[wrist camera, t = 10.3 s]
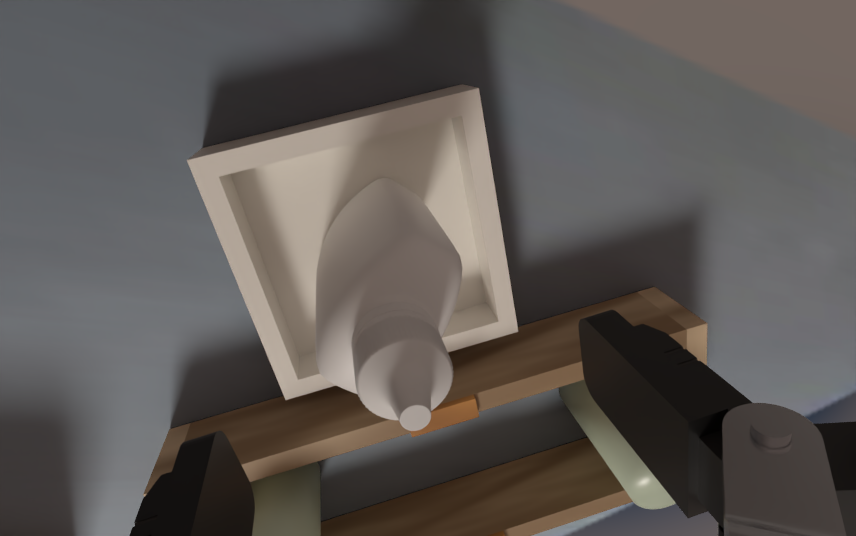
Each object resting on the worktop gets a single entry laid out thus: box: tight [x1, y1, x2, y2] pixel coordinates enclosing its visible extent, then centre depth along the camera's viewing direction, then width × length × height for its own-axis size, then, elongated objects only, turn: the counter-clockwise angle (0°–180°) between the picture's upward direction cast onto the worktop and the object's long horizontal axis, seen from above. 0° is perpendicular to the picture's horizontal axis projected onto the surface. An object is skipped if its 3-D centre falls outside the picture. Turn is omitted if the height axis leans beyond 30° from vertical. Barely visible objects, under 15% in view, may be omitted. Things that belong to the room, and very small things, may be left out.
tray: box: [187, 84, 518, 400], centre depth 22 cm, size 11×11×2 cm
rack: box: [143, 287, 707, 536], centre depth 26 cm, size 10×25×4 cm, turn 102°
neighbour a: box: [250, 462, 321, 536], centre depth 24 cm, size 4×4×7 cm
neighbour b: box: [559, 379, 675, 509], centre depth 25 cm, size 4×4×7 cm
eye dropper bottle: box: [315, 178, 463, 431], centre depth 17 cm, size 4×6×12 cm
